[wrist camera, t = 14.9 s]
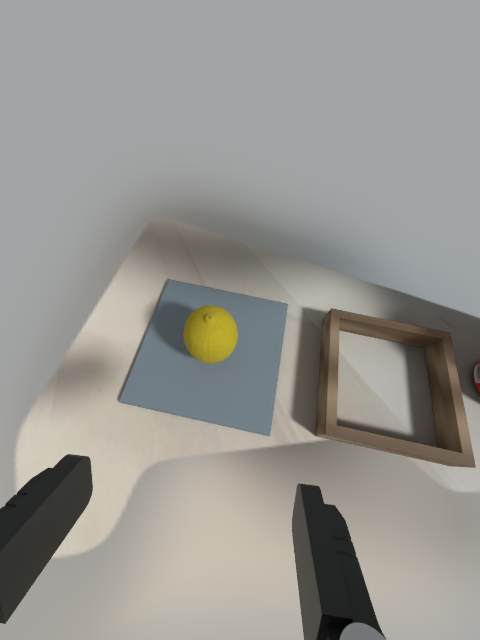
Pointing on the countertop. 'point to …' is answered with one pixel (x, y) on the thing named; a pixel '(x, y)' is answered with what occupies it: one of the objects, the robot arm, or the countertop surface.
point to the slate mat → (204, 378)
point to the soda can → (477, 375)
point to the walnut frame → (441, 378)
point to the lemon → (210, 334)
